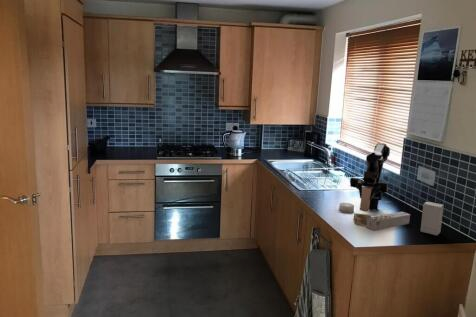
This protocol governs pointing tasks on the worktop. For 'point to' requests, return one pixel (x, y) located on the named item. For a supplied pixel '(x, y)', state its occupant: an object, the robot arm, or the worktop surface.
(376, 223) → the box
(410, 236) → the worktop surface
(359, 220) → the tray
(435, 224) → the skincare box
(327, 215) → the worktop surface
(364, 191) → the brown dome-top cylinder
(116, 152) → the worktop surface
